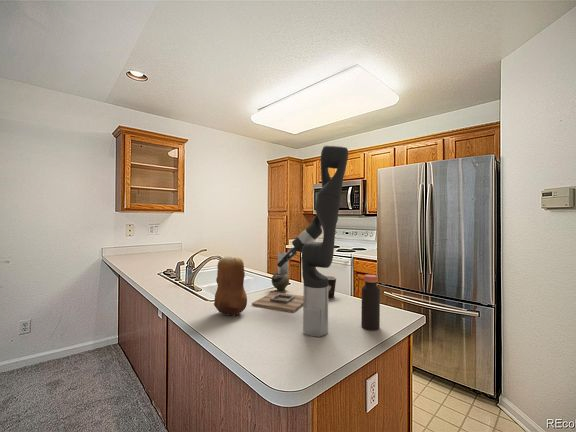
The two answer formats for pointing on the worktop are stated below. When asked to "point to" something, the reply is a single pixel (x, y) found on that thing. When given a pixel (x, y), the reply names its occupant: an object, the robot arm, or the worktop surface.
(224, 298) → the butternut squash
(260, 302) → the pocket base
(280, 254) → the steel hub
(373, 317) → the bottle
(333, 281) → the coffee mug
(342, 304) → the worktop surface
